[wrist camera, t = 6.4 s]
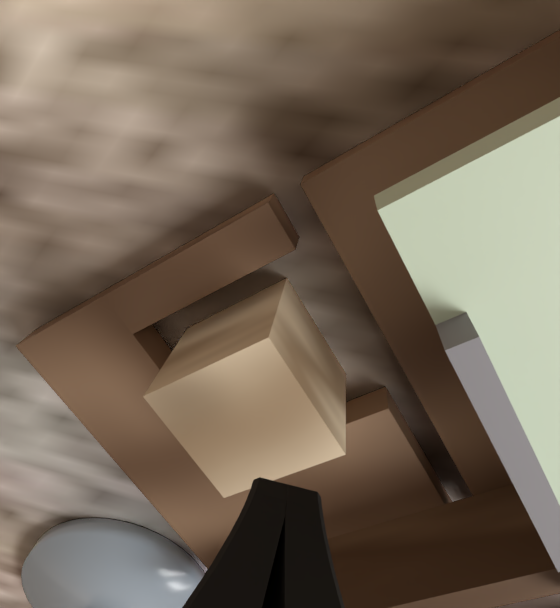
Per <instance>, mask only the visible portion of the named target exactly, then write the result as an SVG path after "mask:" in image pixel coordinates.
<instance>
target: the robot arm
mask: <svg viewBox="0 0 560 608" xmlns="http://www.w3.org/2000/svg"><path fill="white" fill-rule="evenodd" d="M182 608H345V607H344V603H343V600H342V596H341V592H340V589H339V585H338V581H337V578H336V574H335V570H334V566H333V562H332V557H331V553H330V548H329V544H328V539H327V534H326V529H325V523H324V517H323V510H322V502H321V496H320V495H319V493H318V492H316V491H312V490H308V489H304V488H300V487H296V486H292V485H288V484H284V483H280V482H276V481H272V480H269V479H265V478H261V477H259V478H257V479H254V480H253V483H252V486H251V489H250V492H249V495H248V497H247V500H246V502H245V504H244V506H243V509H242V511H241V513H240V515H239V517H238V519H237V521H236V522H235V524H234V526H233V528H232V530H231V532H230V534H229V535H228V537H227V539H226V540H225V542H224V544H223V546H222V547H221V549H220V551H219V552H218V554H217V556H216V557H215V559H214V561H213V562H212V564H211V566H210V567H209V569H208V570H207V572H206V573H205V575H204V576H203V578H202V579H201V581H200V582H199V584H198V585H197V587H196V588H195V589H194V591H193V592H192V594H191V595H190V597H189V598H188V600H187V601H186V603H185V604H184V606H183V607H182Z"/></svg>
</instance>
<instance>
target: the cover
mask: <svg viewBox="0 0 560 608" xmlns="http://www.w3.org/2000/svg"><path fill="white" fill-rule="evenodd" d="M374 199H375V203H376V207H377V211H378V213H379V215H380V217H381V219H382V221H383V223H384V225H385V227H386V229H387V231H388V233H389V234H390V236H391V238H392V240H393V242H394V244H395V246H396V248H397V250H398V252H399V254H400V256H401V258H402V260H403V262H404V264H405V266H406V268H407V270H408V272H409V274H410V276H411V278H412V280H413V282H414V284H415V286H416V288H417V290H418V292H419V294H420V296H421V297H422V299H423V301H424V303H425V305H426V307H427V309H428V311H429V313H430V315H431V317H432V319H433V321H434V323H435V325H436V328H437V331H438V333H439V336H440V339H441V341H442V344H443V347H444V350H445V352H446V354H447V356H448V358H449V360H450V362H451V364H452V365H453V367H454V369H455V371H456V373H457V375H458V377H459V379H460V381H461V383H462V385H463V387H464V389H465V391H466V393H467V395H468V397H469V399H470V401H471V403H472V405H473V407H474V409H475V411H476V412H477V414H478V416H479V418H480V420H481V422H482V424H483V426H484V428H485V430H486V432H487V434H488V436H489V438H490V440H491V442H492V444H493V446H494V448H495V450H496V452H497V454H498V456H499V458H500V459H501V461H502V463H503V465H504V467H505V469H506V471H507V473H508V475H509V477H510V479H511V481H512V483H513V485H514V487H515V489H516V491H517V493H518V495H519V497H520V499H521V501H522V503H523V505H524V506H525V508H526V510H527V512H528V514H529V516H530V518H531V520H532V522H533V524H534V526H535V528H536V530H537V532H538V534H539V536H540V538H541V540H542V542H543V544H544V546H545V548H546V550H547V552H548V553H549V555H550V557H551V559H552V561H553V563H554V565H555V567H556V569H557V571H558V572H560V97H559V98H557V99H555V100H553V101H552V102H550V103H548V104H546V105H544V106H542V107H540V108H538V109H536V110H535V111H533V112H531V113H529V114H527V115H525V116H523V117H521V118H519V119H518V120H516V121H514V122H512V123H510V124H508V125H506V126H504V127H502V128H501V129H499V130H497V131H495V132H493V133H491V134H489V135H487V136H485V137H484V138H482V139H480V140H478V141H476V142H474V143H472V144H470V145H468V146H467V147H465V148H463V149H461V150H459V151H457V152H455V153H453V154H451V155H450V156H448V157H446V158H444V159H442V160H440V161H438V162H436V163H434V164H433V165H431V166H429V167H427V168H425V169H423V170H421V171H419V172H417V173H416V174H414V175H412V176H410V177H408V178H406V179H404V180H402V181H400V182H399V183H397V184H395V185H393V186H391V187H389V188H387V189H385V190H383V191H382V192H380V193H378V194H376V195H374Z"/></svg>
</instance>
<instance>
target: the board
mask: <svg viewBox="0 0 560 608" xmlns="http://www.w3.org/2000/svg"><path fill="white" fill-rule="evenodd" d="M559 97H560V30H559V31H557V32H555V33H554V34H552V35H550V36H548V37H547V38H545V39H543V40H541V41H540V42H538V43H536V44H534V45H533V46H531V47H529V48H527V49H526V50H524V51H522V52H520V53H519V54H517V55H515V56H513V57H512V58H510V59H508V60H506V61H505V62H503V63H501V64H499V65H498V66H496V67H494V68H492V69H491V70H489V71H487V72H485V73H484V74H482V75H480V76H478V77H477V78H475V79H473V80H471V81H470V82H468V83H466V84H464V85H463V86H461V87H459V88H457V89H456V90H454V91H452V92H450V93H449V94H447V95H445V96H443V97H442V98H440V99H438V100H436V101H435V102H433V103H431V104H429V105H428V106H426V107H424V108H422V109H421V110H419V111H417V112H415V113H414V114H412V115H410V116H408V117H407V118H405V119H403V120H401V121H400V122H398V123H396V124H394V125H393V126H391V127H389V128H387V129H386V130H384V131H382V132H380V133H379V134H377V135H375V136H373V137H372V138H370V139H368V140H366V141H365V142H363V143H361V144H359V145H358V146H356V147H354V148H352V149H351V150H349V151H347V152H345V153H344V154H342V155H340V156H338V157H337V158H335V159H333V160H331V161H330V162H328V163H326V164H324V165H323V166H321V167H319V168H317V169H316V170H314V171H312V172H310V173H309V174H307V175H305V176H304V177H303V179H302V182H301V184H300V185H301V187H302V189H303V190H304V192H305V194H306V196H307V198H308V199H309V201H310V203H311V205H312V207H313V208H314V210H315V212H316V214H317V216H318V217H319V219H320V221H321V223H322V225H323V226H324V228H325V230H326V232H327V234H328V235H329V237H330V239H331V241H332V243H333V245H334V246H335V248H336V250H337V252H338V254H339V255H340V257H341V259H342V261H343V263H344V264H345V266H346V268H347V270H348V272H349V273H350V275H351V277H352V279H353V281H354V282H355V284H356V286H357V288H358V290H359V291H360V293H361V295H362V297H363V299H364V300H365V302H366V304H367V306H368V308H369V309H370V311H371V313H372V315H373V317H374V318H375V320H376V322H377V324H378V326H379V327H380V329H381V331H382V333H383V335H384V337H385V338H386V340H387V342H388V344H389V346H390V347H391V349H392V351H393V353H394V355H395V356H396V358H397V360H398V362H399V364H400V365H401V367H402V369H403V371H404V373H405V374H406V376H407V378H408V380H409V382H410V383H411V385H412V387H413V389H414V391H415V392H416V394H417V396H418V398H419V400H420V401H421V403H422V405H423V407H424V409H425V410H426V412H427V414H428V416H429V418H430V419H431V421H432V423H433V425H434V427H435V429H436V430H437V432H438V434H439V436H440V438H441V439H442V441H443V443H444V445H445V447H446V448H447V450H448V452H449V454H450V456H451V457H452V459H453V461H454V463H455V465H456V466H457V468H458V470H459V472H460V474H461V475H462V477H463V479H464V481H465V483H466V484H467V486H468V488H469V490H470V492H471V493H472V495H473V496H471V497H468V498H465V499H461V500H458V501H454V502H452V501H451V499H450V497H449V496H448V494H447V492H446V490H445V489H444V487H443V485H442V483H441V482H440V480H439V478H438V476H437V475H436V473H435V471H434V470H433V468H432V466H431V464H430V463H429V461H428V459H427V457H426V456H425V454H424V452H423V451H422V449H421V447H420V445H419V444H418V442H417V440H416V438H415V437H414V435H413V433H412V431H411V430H410V428H409V426H408V425H407V423H406V421H405V419H404V418H403V416H402V414H401V412H400V411H399V409H398V407H397V405H396V404H395V402H394V400H393V399H392V397H391V395H390V393H389V392H388V390H387V388H386V387H384V388H381V389H378V390H376V391H373V392H371V393H368V394H366V395H363V396H361V397H358V398H355V399H353V400H350V401H348V402H346V455H343V456H340V457H338V458H335V459H332V460H329V461H326V462H324V463H321V464H318V465H315V466H312V467H310V468H307V469H304V470H301V471H298V472H296V473H293V474H290V475H287V476H284V477H282V478H279V479H276V480H273V481H276V482H280V483H284V484H288V485H292V486H296V487H300V488H304V489H308V490H312V491H316V492H318V493H319V495H320V496H321V502H322V510H323V517H324V523H325V529H326V534H327V539H328V544H329V548H330V553H331V557H332V562H333V566H334V570H335V574H336V578H337V581H338V585H339V589H340V592H341V596H342V600H343V603H344V607H345V608H494V607H499V606H504V605H508V604H513V603H517V602H522V601H527V600H531V599H536V598H540V597H545V596H550V595H554V594H559V593H560V572H558V571H557V569H556V567H555V565H554V563H553V561H552V559H551V557H550V555H549V553H548V552H547V550H546V548H545V546H544V544H543V542H542V540H541V538H540V536H539V534H538V532H537V530H536V528H535V526H534V524H533V522H532V520H531V518H530V516H529V514H528V512H527V510H526V508H525V506H524V505H523V503H522V501H521V499H520V497H519V495H518V493H517V491H516V489H515V487H514V485H513V483H512V481H511V479H510V477H509V475H508V473H507V471H506V469H505V467H504V465H503V463H502V461H501V459H500V458H499V456H498V454H497V452H496V450H495V448H494V446H493V444H492V442H491V440H490V438H489V436H488V434H487V432H486V430H485V428H484V426H483V424H482V422H481V420H480V418H479V416H478V414H477V412H476V411H475V409H474V407H473V405H472V403H471V401H470V399H469V397H468V395H467V393H466V391H465V389H464V387H463V385H462V383H461V381H460V379H459V377H458V375H457V373H456V371H455V369H454V367H453V365H452V364H451V362H450V360H449V358H448V356H447V354H446V352H445V350H444V347H443V344H442V341H441V339H440V336H439V333H438V331H437V328H436V325H435V323H434V321H433V319H432V317H431V315H430V313H429V311H428V309H427V307H426V305H425V303H424V301H423V299H422V297H421V296H420V294H419V292H418V290H417V288H416V286H415V284H414V282H413V280H412V278H411V276H410V274H409V272H408V270H407V268H406V266H405V264H404V262H403V260H402V258H401V256H400V254H399V252H398V250H397V248H396V246H395V244H394V242H393V240H392V238H391V236H390V234H389V233H388V231H387V229H386V227H385V225H384V223H383V221H382V219H381V217H380V215H379V213H378V211H377V207H376V203H375V199H374V195H376V194H378V193H380V192H382V191H383V190H385V189H387V188H389V187H391V186H393V185H395V184H397V183H399V182H400V181H402V180H404V179H406V178H408V177H410V176H412V175H414V174H416V173H417V172H419V171H421V170H423V169H425V168H427V167H429V166H431V165H433V164H434V163H436V162H438V161H440V160H442V159H444V158H446V157H448V156H450V155H451V154H453V153H455V152H457V151H459V150H461V149H463V148H465V147H467V146H468V145H470V144H472V143H474V142H476V141H478V140H480V139H482V138H484V137H485V136H487V135H489V134H491V133H493V132H495V131H497V130H499V129H501V128H502V127H504V126H506V125H508V124H510V123H512V122H514V121H516V120H518V119H519V118H521V117H523V116H525V115H527V114H529V113H531V112H533V111H535V110H536V109H538V108H540V107H542V106H544V105H546V104H548V103H550V102H552V101H553V100H555V99H557V98H559ZM298 239H299V236H298V234H297V232H296V230H295V229H294V227H293V225H292V224H291V222H290V220H289V218H288V217H287V215H286V213H285V211H284V210H283V208H282V206H281V204H280V203H279V201H278V199H277V198H276V196H275V194H272V195H270V196H269V197H267V198H265V199H263V200H262V201H260V202H258V203H256V204H255V205H253V206H251V207H249V208H248V209H246V210H244V211H242V212H241V213H239V214H237V215H235V216H234V217H232V218H230V219H228V220H227V221H225V222H223V223H221V224H220V225H218V226H216V227H214V228H213V229H211V230H209V231H207V232H206V233H204V234H202V235H200V236H199V237H197V238H195V239H193V240H192V241H190V242H188V243H186V244H185V245H183V246H181V247H179V248H178V249H176V250H174V251H172V252H171V253H169V254H167V255H165V256H164V257H162V258H160V259H158V260H157V261H155V262H153V263H151V264H150V265H148V266H146V267H144V268H143V269H141V270H139V271H137V272H136V273H134V274H132V275H130V276H129V277H127V278H125V279H123V280H122V281H120V282H118V283H116V284H115V285H113V286H111V287H109V288H108V289H106V290H104V291H102V292H101V293H99V294H97V295H95V296H94V297H92V298H90V299H88V300H87V301H85V302H83V303H81V304H80V305H78V306H76V307H74V308H73V309H71V310H69V311H67V312H66V313H64V314H62V315H60V316H59V317H57V318H55V319H53V320H52V321H50V322H48V323H46V324H45V325H43V326H41V327H39V328H38V329H36V330H35V331H34V332H32V333H31V334H30V335H29V336H27V337H26V338H25V339H24V340H22V341H21V342H20V343H19V344H17V345H16V347H17V348H18V350H19V351H20V352H21V353H22V354H23V355H24V356H25V358H26V359H27V360H28V361H29V362H30V363H31V365H32V366H33V367H34V368H35V369H36V370H37V372H38V373H39V374H40V375H41V376H42V377H43V378H44V380H45V381H46V382H47V383H48V384H49V385H50V387H51V388H52V389H53V390H54V391H55V392H56V394H57V395H58V396H59V397H60V398H61V399H62V400H63V402H64V403H65V404H66V405H67V406H68V407H69V409H70V410H71V411H72V412H73V413H74V414H75V416H76V417H77V418H78V419H79V420H80V421H81V422H82V424H83V425H84V426H85V427H86V428H87V429H88V431H89V432H90V433H91V434H92V435H93V436H94V438H95V439H96V440H97V441H98V442H99V443H100V444H101V446H102V447H103V448H104V449H105V450H106V451H107V453H108V454H109V455H110V456H111V457H112V458H113V460H114V461H115V462H116V463H117V464H118V465H119V466H120V468H121V469H122V470H123V471H124V472H125V473H126V475H127V476H128V477H129V478H130V479H131V480H132V482H133V483H134V484H135V485H136V486H137V487H138V489H139V490H140V491H141V492H142V493H143V494H144V495H145V497H146V498H147V499H148V500H149V501H150V502H151V504H152V505H153V506H154V507H155V508H156V509H157V511H158V512H159V513H160V514H161V515H162V516H163V517H164V519H165V520H166V521H167V522H168V523H169V524H170V526H171V527H172V528H173V529H174V530H175V531H176V533H177V534H178V535H179V536H180V537H181V538H182V539H183V541H184V542H185V543H186V544H187V545H188V546H189V548H190V549H191V550H192V551H193V552H194V553H195V555H196V556H197V557H198V558H199V559H200V560H201V561H202V563H203V564H204V565H205V566H206V567H207V568H208V569H209V567H210V566H211V564H212V562H213V561H214V559H215V557H216V556H217V554H218V552H219V551H220V549H221V547H222V546H223V544H224V542H225V540H226V539H227V537H228V535H229V534H230V532H231V530H232V528H233V526H234V524H235V522H236V521H237V519H238V517H239V515H240V513H241V511H242V509H243V506H244V504H245V502H246V500H247V497H248V495H249V492H250V489H248V490H245V491H242V492H239V493H237V494H234V495H231V496H228V497H225V498H223V496H222V495H221V494H220V492H219V491H218V490H217V489H216V487H215V486H214V485H213V484H212V482H211V481H210V480H209V479H208V477H207V476H206V475H205V474H204V472H203V471H202V470H201V469H200V467H199V466H198V465H197V464H196V462H195V461H194V460H193V459H192V457H191V456H190V455H189V454H188V452H187V451H186V450H185V449H184V447H183V446H182V445H181V444H180V442H179V441H178V440H177V439H176V437H175V436H174V435H173V434H172V432H171V431H170V430H169V429H168V427H167V426H166V425H165V424H164V422H163V421H162V420H161V419H160V417H159V416H158V415H157V413H156V412H155V411H154V410H153V408H152V407H151V406H150V405H149V403H148V402H147V401H146V400H145V398H144V397H143V396H144V394H145V392H146V391H147V389H148V388H149V386H150V385H151V383H152V382H153V380H154V379H155V377H156V376H157V374H158V372H159V371H160V369H161V368H162V366H163V365H164V363H165V362H166V360H167V359H168V357H169V356H170V354H171V352H172V351H171V350H170V348H169V347H168V345H167V344H166V343H165V341H164V340H163V339H162V337H161V336H160V335H159V333H158V332H157V331H156V329H155V328H154V326H153V325H152V324H153V323H155V322H157V321H159V320H161V319H163V318H165V317H167V316H169V315H171V314H172V313H174V312H176V311H178V310H180V309H182V308H184V307H186V306H188V305H190V304H192V303H194V302H196V301H197V300H199V299H201V298H203V297H205V296H207V295H209V294H211V293H213V292H215V291H217V290H219V289H221V288H222V287H224V286H226V285H228V284H230V283H232V282H234V281H236V280H238V279H240V278H242V277H244V276H246V275H247V274H249V273H251V272H253V271H255V270H257V269H259V268H261V267H263V266H265V265H267V264H269V263H271V262H272V261H274V260H276V259H278V258H280V257H282V256H284V255H286V254H288V253H290V252H292V251H294V250H295V249H296V246H297V243H298Z"/></svg>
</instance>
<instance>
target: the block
mask: <svg viewBox="0 0 560 608" xmlns="http://www.w3.org/2000/svg"><path fill="white" fill-rule="evenodd" d="M143 397H144V398H145V400H146V401H147V402H148V403H149V405H150V406H151V407H152V408H153V410H154V411H155V412H156V413H157V415H158V416H159V417H160V419H161V420H162V421H163V422H164V424H165V425H166V426H167V427H168V429H169V430H170V431H171V432H172V434H173V435H174V436H175V437H176V439H177V440H178V441H179V442H180V444H181V445H182V446H183V447H184V449H185V450H186V451H187V452H188V454H189V455H190V456H191V457H192V459H193V460H194V461H195V462H196V464H197V465H198V466H199V467H200V469H201V470H202V471H203V472H204V474H205V475H206V476H207V477H208V479H209V480H210V481H211V482H212V484H213V485H214V486H215V487H216V489H217V490H218V491H219V492H220V494H221V495H222V496H223V498H225V497H228V496H231V495H234V494H237V493H239V492H242V491H245V490H248V489H251V486H252V483H253V480H254V479H257V478H259V477H261V478H265V479H269V480H272V481H273V480H276V479H279V478H282V477H284V476H287V475H290V474H293V473H296V472H298V471H301V470H304V469H307V468H310V467H312V466H315V465H318V464H321V463H324V462H326V461H329V460H332V459H335V458H338V457H340V456H343V455H346V373H345V372H344V370H343V368H342V367H341V365H340V363H339V362H338V360H337V358H336V357H335V355H334V354H333V352H332V350H331V349H330V347H329V345H328V344H327V342H326V341H325V339H324V337H323V336H322V334H321V332H320V331H319V329H318V328H317V326H316V324H315V323H314V321H313V319H312V318H311V316H310V314H309V313H308V311H307V310H306V308H305V306H304V305H303V303H302V301H301V300H300V298H299V297H298V295H297V293H296V292H295V290H294V288H293V287H292V285H291V284H290V282H289V280H288V279H287V278H285V279H283V280H282V281H280V282H278V283H276V284H274V285H272V286H270V287H268V288H266V289H264V290H262V291H260V292H258V293H256V294H254V295H252V296H250V297H248V298H246V299H244V300H242V301H240V302H238V303H236V304H234V305H232V306H231V307H229V308H227V309H225V310H223V311H221V312H219V313H217V314H215V315H213V316H211V317H209V318H207V319H205V320H203V321H201V322H199V323H197V324H195V325H193V326H191V327H189V328H187V329H186V331H185V332H184V334H183V336H182V337H181V339H180V340H179V342H178V343H177V345H176V346H175V348H174V349H173V351H172V352H171V354H170V356H169V357H168V359H167V360H166V362H165V363H164V365H163V366H162V368H161V369H160V371H159V372H158V374H157V376H156V377H155V379H154V380H153V382H152V383H151V385H150V386H149V388H148V389H147V391H146V392H145V394H144V396H143Z"/></svg>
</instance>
